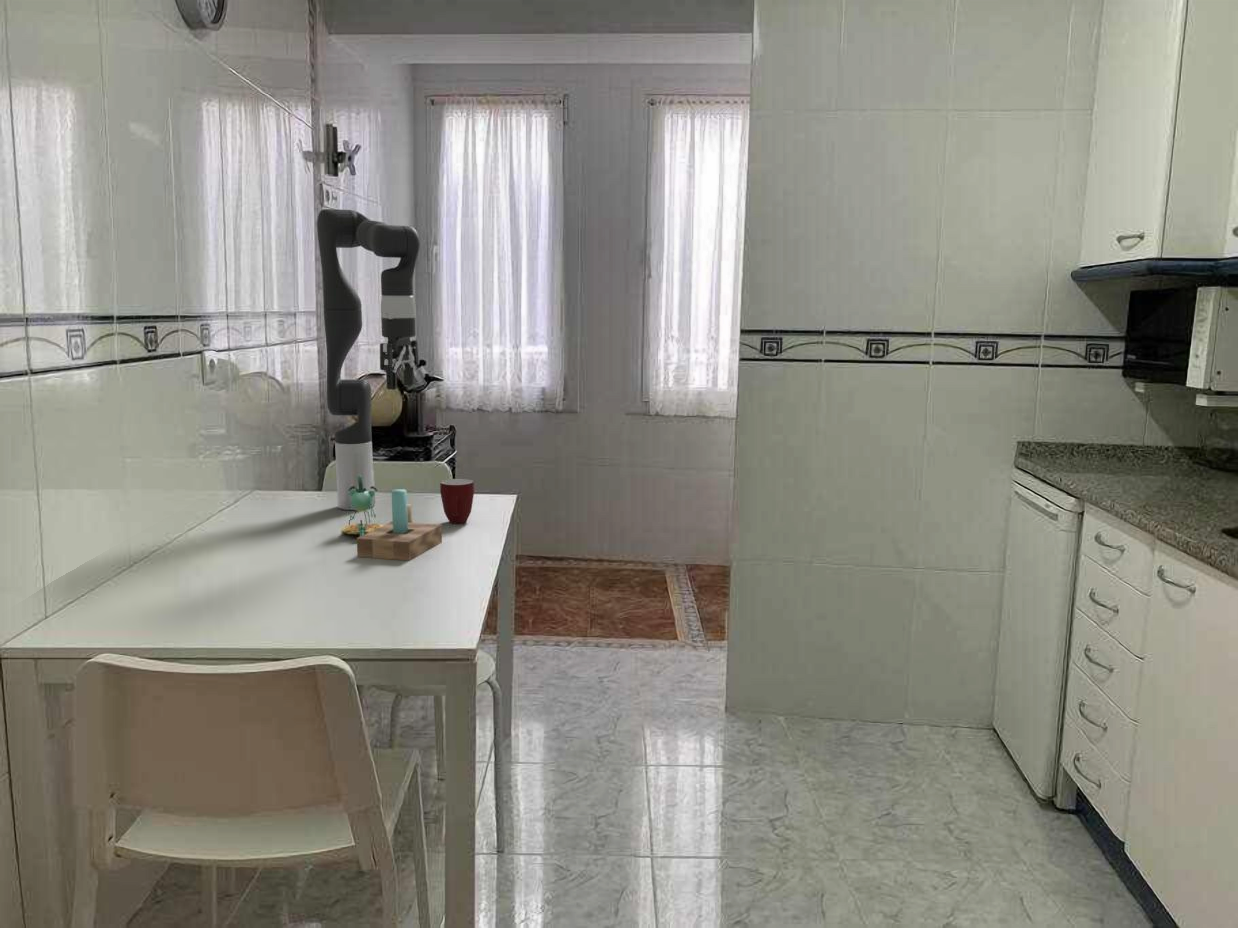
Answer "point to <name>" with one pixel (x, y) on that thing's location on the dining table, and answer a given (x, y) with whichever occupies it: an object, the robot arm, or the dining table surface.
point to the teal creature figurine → (361, 509)
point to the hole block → (399, 541)
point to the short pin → (409, 513)
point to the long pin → (399, 511)
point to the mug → (457, 499)
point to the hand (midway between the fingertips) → (400, 387)
